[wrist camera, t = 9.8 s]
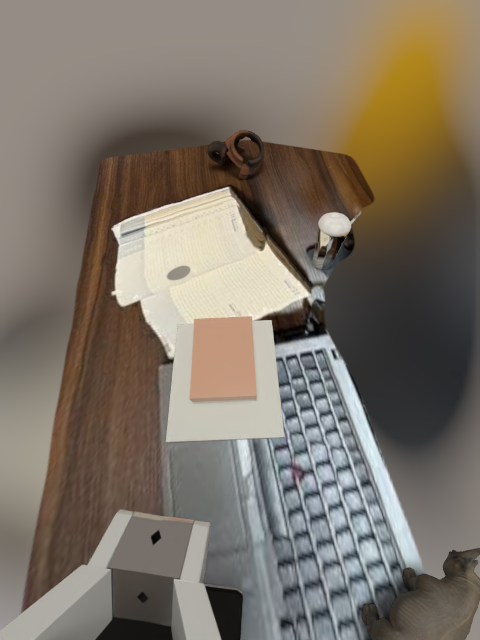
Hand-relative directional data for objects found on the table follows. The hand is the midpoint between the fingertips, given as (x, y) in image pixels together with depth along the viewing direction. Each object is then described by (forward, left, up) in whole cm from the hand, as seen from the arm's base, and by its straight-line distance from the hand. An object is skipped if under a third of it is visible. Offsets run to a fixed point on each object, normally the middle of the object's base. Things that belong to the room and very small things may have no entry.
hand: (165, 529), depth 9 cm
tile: (+10, 0, -23) cm, 25 cm away
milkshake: (+32, -17, -24) cm, 44 cm away
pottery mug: (+62, -3, -24) cm, 66 cm away
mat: (+13, 0, -24) cm, 28 cm away
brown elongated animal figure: (-8, -18, -24) cm, 31 cm away
